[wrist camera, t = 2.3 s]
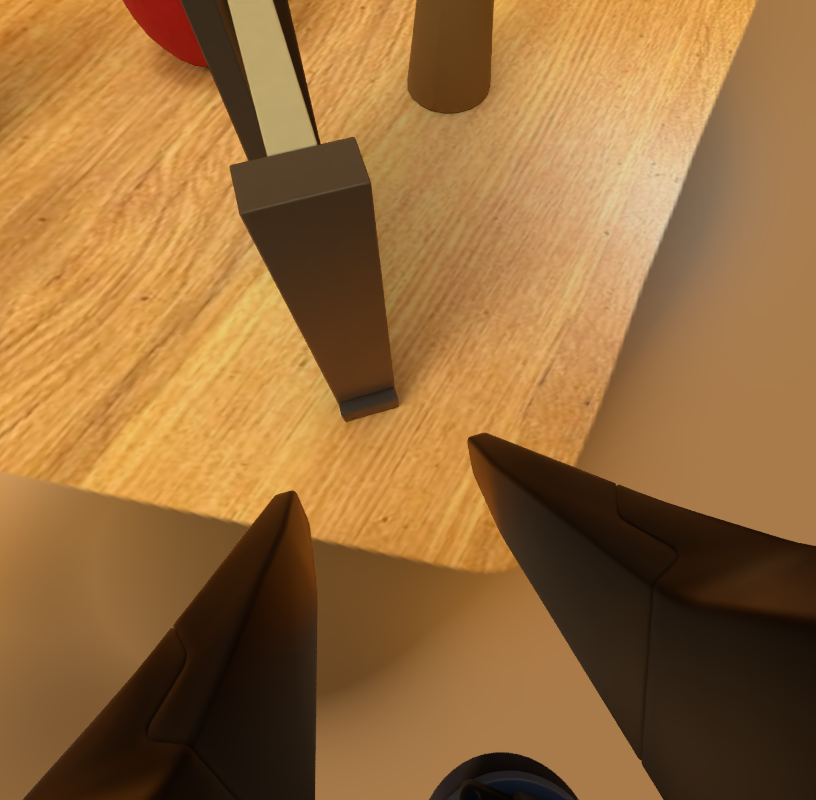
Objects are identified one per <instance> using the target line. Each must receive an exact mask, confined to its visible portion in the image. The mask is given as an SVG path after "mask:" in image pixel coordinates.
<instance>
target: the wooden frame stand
mask: <svg viewBox="0 0 816 800" xmlns="http://www.w3.org/2000/svg"><path fill="white" fill-rule="evenodd" d="M180 1H181V4H182V6H183V8H184V11H185V13H186V15H187V18H188V20H189V22H190V25H191V27H192V30H193V32H194V34H195V37H196V39H197V41H198V44H199V46H200V48H201V51H202V53H203V55H204V58H205V60H206V62H207V65H208V67H209V69H210V72H211V74H212V76H213V79H214V81H215V83H216V86H217V88H218V90H219V93H220V95H221V98H222V100H223V102H224V105H225V107H226V109H227V112H228V114H229V116H230V119H231V121H232V123H233V126H234V128H235V130H236V133H237V135H238V137H239V140H240V142H241V144H242V147H243V149H244V151H245V154H246V156H247V158H248V161H251V160H255V159H260V158H264V157H267V153H266V149H265V145H264V141H263V137H262V134H261V130H260V126H259V122H258V118H257V114H256V110H255V106H254V102H253V98H252V94H251V90H250V86H249V83H248V79H247V75H246V71H245V67H244V63H243V59H242V55H241V51H240V47H239V43H238V39H237V36H236V32H235V28H234V24H233V20H232V16H231V12H230V8H229V4H228V0H180ZM273 2H274V5H275V9H276V12H277V15H278V18H279V22H280V25H281V28H282V31H283V34H284V38H285V41H286V44H287V47H288V51H289V54H290V57H291V60H292V64H293V67H294V70H295V73H296V76H297V80H298V83H299V86H300V89H301V93H302V96H303V99H304V102H305V105H306V109H307V112H308V115H309V118H310V122H311V125H312V128H313V131H314V135H315V138H316V141H317V144H318V145H320V140H319V135H318V131H317V126H316V122H315V118H314V113H313V109H312V105H311V100H310V96H309V92H308V87H307V83H306V79H305V74H304V70H303V65H302V61H301V57H300V52H299V48H298V44H297V39H296V35H295V31H294V26H293V22H292V18H291V13H290V9H289V4H288V0H273ZM398 406H399V405H398V398H397V394H396V391H395V388H394V387H392V388H389V389H385V390H382V391H378V392H375V393H371V394H368V395H364V396H361V397H357V398H354V399H350V400H347V401H343V402H340V403H339V407H340V411H341V415H342V417H343V419H344V420H345V422H347V421H350V420H354V419H357V418H361V417H364V416H368V415H371V414H375V413H378V412H381V411H385V410H388V409H392V408H395V407H398Z"/></svg>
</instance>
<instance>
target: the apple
mask: <svg viewBox="0 0 816 800" xmlns="http://www.w3.org/2000/svg"><path fill="white" fill-rule="evenodd" d="M123 1H124V3H125V5H126V7H127V8H128V10H129V11H130V13H131V14H132V16H133V17H134V19H135V20H136V21H137V22H138V24H139V25H140V26H141V27H142V28H143V30H144V31H145V32H146V33H147V34H148V36H150V37H151V38H152V39H153V40H154V41H155V42H157V43H158V44H159V45H160V46H161V47H163V48H164V49H165V50H167V51H168V52H170V53H171V54H173V55H174V56H176V57H177V58H179V59H180V60H182V61H185V62H188V63H190V64H193V65H195V66H208V65H207V62H206V60H205V58H204V55H203V53H202V51H201V48H200V46H199V44H198V41H197V39H196V37H195V34H194V32H193V30H192V27H191V25H190V22H189V20H188V18H187V15H186V13H185V11H184V8H183V6H182V4H181V1H180V0H123Z"/></svg>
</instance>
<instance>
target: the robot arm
mask: <svg viewBox="0 0 816 800" xmlns="http://www.w3.org/2000/svg"><path fill="white" fill-rule="evenodd" d="M467 442H468V449H469V454H470V460H471V465H472V470H473V473H474V476H475V479H476V481H477V483H478V485H479V487H480V490H481V492H482V494H483V496H484V498H485V501H486V503H487V505H488V507H489V509H490V512H491V514H492V516H493V518H494V520H495V523H496V525H497V527H498V529H499V531H500V533H501V535H502V537H503V538H504V540H505V542H506V544H507V545H508V547H509V548H510V550H511V552H512V553H513V555H514V557H515V558H516V560H517V561H518V563H519V565H520V566H521V568H522V570H523V571H524V573H525V574H526V576H527V578H528V579H529V581H530V583H531V584H532V586H533V587H534V589H535V591H536V592H537V594H538V595H539V597H540V599H541V601H542V602H543V604H544V605H545V607H546V609H547V610H548V612H549V613H550V615H551V617H552V618H553V620H554V622H555V623H556V625H557V627H558V628H559V630H560V631H561V633H562V635H563V636H564V638H565V639H566V641H567V643H568V644H569V646H570V648H571V649H572V651H573V653H574V654H575V656H576V657H577V659H578V661H579V662H580V664H581V665H582V667H583V669H584V670H585V672H586V674H587V675H588V677H589V679H590V680H591V682H592V683H593V685H594V686H595V688H596V690H597V691H598V693H599V695H600V697H601V698H602V700H603V701H604V703H605V704H606V706H607V708H608V709H609V711H610V713H611V714H612V716H613V718H614V719H615V721H616V722H617V724H618V726H619V727H620V729H621V731H622V732H623V734H624V736H625V737H626V739H627V740H628V742H629V743H630V745H631V747H632V749H633V750H634V752H635V753H636V755H637V757H638V758H639V759H640V760H642V765H643V767H644V768H645V770H646V772H647V773H648V775H649V777H650V778H651V780H652V781H653V783H654V785H655V786H656V788H657V790H658V791H659V793H660V795H661V796H662V798H663V799H664V800H816V546H812V545H807V544H802V543H797V542H793V541H790V540H786V539H782V538H779V537H776V536H772V535H769V534H766V533H763V532H759V531H756V530H753V529H750V528H746V527H743V526H740V525H737V524H733V523H730V522H727V521H724V520H720V519H717V518H714V517H710V516H707V515H704V514H701V513H697V512H694V511H691V510H688V509H685V508H682V507H679V506H676V505H673V504H670V503H666V502H664V501H661V500H658V499H656V498H653V497H650V496H647V495H645V494H642V493H639V492H636V491H634V490H631V489H629V488H626V487H624V486H621V485H617V486H616V484H615V483H613V482H611V481H608V480H605V479H603V478H600V477H598V476H595V475H592V474H590V473H588V472H585V471H582V470H580V469H577V468H575V467H572V466H570V465H567V464H565V463H562V462H559V461H557V460H554V459H552V458H549V457H547V456H544V455H542V454H539V453H536V452H534V451H531V450H529V449H526V448H524V447H521V446H519V445H516V444H513V443H511V442H508V441H506V440H503V439H501V438H498V437H496V436H493V435H490V434H488V433H481V434H477V435H474V436H471V437H469V438H468V441H467ZM316 669H317V586H316V576H315V568H314V558H313V549H312V540H311V531H310V525H309V521H308V518H307V516H306V514H305V511H304V509H303V507H302V504H301V502H300V500H299V497H298V495H297V493H296V492H295V491H288V492H285V493H282V494H278V495H276V496H275V497H274V498H273V499H272V500H271V501H270V503H269V504H268V505H267V507H266V508H265V509H264V510H263V512H262V513H261V514H260V515H259V517H258V518H257V519H256V520H255V522H254V523H253V524H252V526H251V527H250V528H249V529H248V531H247V532H246V533H245V534H244V536H243V537H242V539H241V540H240V541H239V542H238V543H237V545H236V546H235V547H234V549H233V550H232V551H231V553H230V554H229V555H228V556H227V558H226V559H225V560H224V561H223V562H222V564H221V565H220V566H219V568H218V569H217V570H216V571H215V573H214V574H213V575H212V577H211V578H210V579H209V580H208V582H207V583H206V584H205V586H204V587H203V588H202V589H201V590H200V592H199V593H198V594H197V596H196V597H195V598H194V600H193V601H192V602H191V603H190V605H189V606H188V607H187V608H186V610H185V611H184V612H183V613H182V615H181V616H180V617H179V618H178V620H177V621H176V622H175V624H174V628H171V629H170V630H169V631H168V632H167V634H166V635H165V636H164V637H163V639H162V640H161V641H160V643H159V644H158V645H157V646H156V648H155V649H154V650H153V651H152V652H151V654H150V655H149V656H148V657H147V659H146V660H145V661H144V662H143V663H142V665H141V666H140V667H139V668H138V670H137V671H136V672H135V673H134V675H133V676H132V677H131V678H130V679H129V680H128V682H127V683H126V684H125V685H124V686H123V687H122V688H121V690H120V691H119V692H118V693H117V694H116V695H115V696H114V698H113V699H112V700H111V701H110V702H109V704H108V705H107V706H106V707H105V708H104V709H103V710H102V711H101V713H100V714H99V715H98V716H97V717H96V718H95V719H94V721H93V722H92V723H91V724H90V725H89V726H88V727H87V728H86V729H85V730H84V732H83V733H82V734H81V735H80V736H79V737H78V738H77V739H76V740H75V742H74V743H73V744H72V745H71V746H70V747H69V748H68V750H67V751H66V752H65V753H64V754H63V755H62V756H61V757H60V759H59V760H58V761H57V762H56V763H55V764H54V765H53V766H52V767H51V768H50V770H49V771H48V772H47V773H46V774H45V775H44V776H43V778H41V780H40V781H39V782H38V783H37V784H36V785H35V786H34V787H33V789H32V790H31V791H30V792H29V793H28V794H27V795H26V796H25V797H24V799H23V800H315V751H316V743H315V742H316V674H317V673H316V671H317V670H316ZM470 792H475V793H476V794H477V799H476V800H541V799H538V798H536V797H534V796H531V795H529V794H527V793H524V792H522V791H517V792H515V793H513V795H509V794H507V793H504V792H502V791H500V790H497V789H495V788H493V787H490V786H488V785H486V784H483V783H481V782H479V781H476V780H473V779H468V780H465V781H464V782H463V783H462V784H461V786H460V789H459V792H458V796H457V800H467V799H466V796H467V795H468V793H470Z"/></svg>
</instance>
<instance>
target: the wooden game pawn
mask: <svg viewBox="0 0 816 800" xmlns="http://www.w3.org/2000/svg"><path fill="white" fill-rule="evenodd" d="M493 6H494V0H417V2H416V10H415V19H414V28H413V36H412V45H411V54H410V62H409V71H408V90H409V92H410V94H411V96H412V98H413V99H414V100H416V101H417V102H418V103H419V104H420V105H421V106H424V107H426V108H428V109H430V110H432V111H437V112H443V113H457V112H462V111H465V110H469V109H471V108H473V107H475V106H476V105H478V104H480V103H481V102H482V101H483V100H484V98H485V97H486V96H487V95H488V91H489V88H490V77H491V53H492V30H493Z"/></svg>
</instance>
